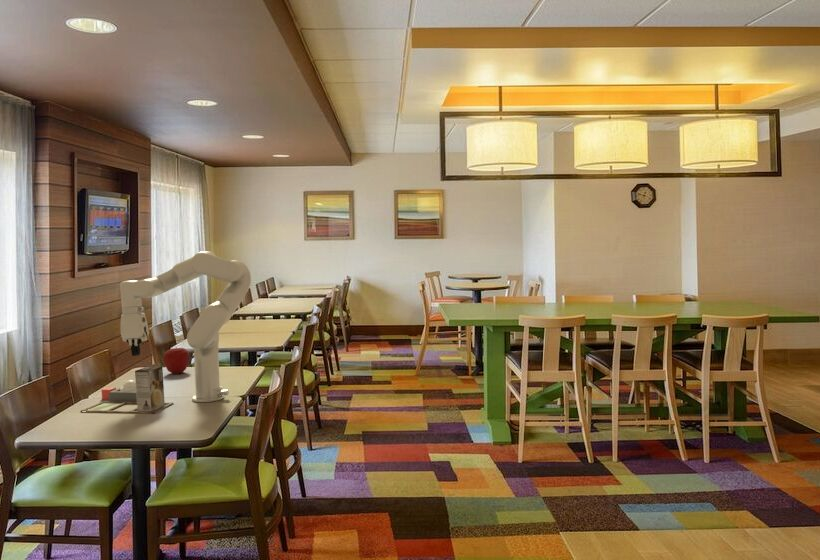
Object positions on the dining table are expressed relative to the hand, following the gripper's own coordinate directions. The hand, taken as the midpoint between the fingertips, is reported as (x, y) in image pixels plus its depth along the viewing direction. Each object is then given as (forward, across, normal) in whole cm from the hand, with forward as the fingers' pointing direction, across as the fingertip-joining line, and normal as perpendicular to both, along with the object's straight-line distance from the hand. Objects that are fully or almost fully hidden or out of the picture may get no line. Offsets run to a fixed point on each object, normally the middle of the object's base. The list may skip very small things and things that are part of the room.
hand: (136, 355), depth 267 cm
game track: (+19, -2, +10) cm, 22 cm away
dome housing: (+19, +7, -4) cm, 21 cm away
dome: (+17, +7, -4) cm, 19 cm away
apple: (+19, +15, -53) cm, 58 cm away
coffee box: (+20, -12, +10) cm, 25 cm away
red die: (+19, +17, -4) cm, 26 cm away
